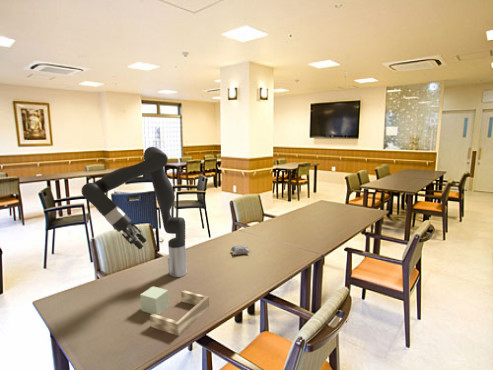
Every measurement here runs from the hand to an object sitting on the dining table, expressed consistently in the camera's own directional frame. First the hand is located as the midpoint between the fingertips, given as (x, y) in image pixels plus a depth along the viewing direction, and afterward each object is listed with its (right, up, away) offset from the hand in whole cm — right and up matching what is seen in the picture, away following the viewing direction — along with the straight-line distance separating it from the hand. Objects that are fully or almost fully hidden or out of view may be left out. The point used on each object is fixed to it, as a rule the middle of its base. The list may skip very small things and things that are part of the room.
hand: (143, 244), depth 134 cm
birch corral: (+19, -30, -6) cm, 36 cm away
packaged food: (+43, -19, +61) cm, 77 cm away
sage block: (+6, -29, 0) cm, 30 cm away
